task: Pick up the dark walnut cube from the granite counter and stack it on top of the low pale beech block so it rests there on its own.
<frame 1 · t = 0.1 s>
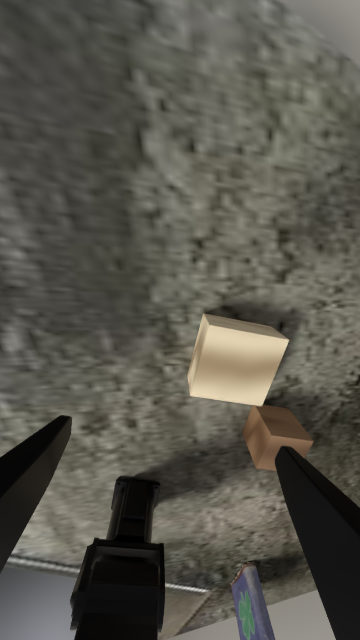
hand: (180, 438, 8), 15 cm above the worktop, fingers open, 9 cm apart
flask: (242, 572, 40), on the worktop
walnut cube: (264, 420, 27), on the worktop
beech block: (227, 350, 24), on the worktop
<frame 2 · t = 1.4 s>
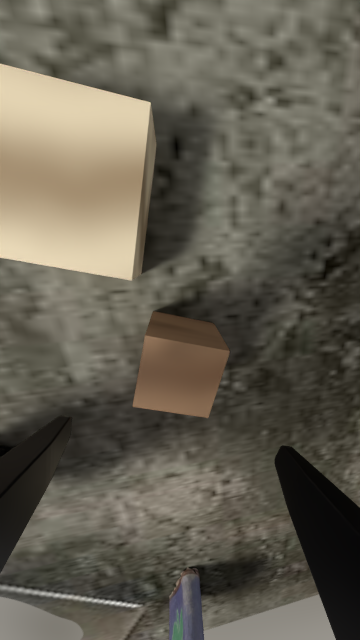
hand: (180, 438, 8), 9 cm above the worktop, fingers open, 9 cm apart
flask: (184, 582, 29), on the worktop
walnut cube: (177, 344, 17), on the worktop
beech block: (89, 203, 14), on the worktop
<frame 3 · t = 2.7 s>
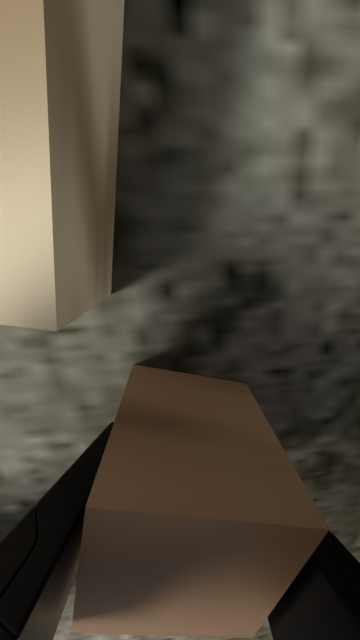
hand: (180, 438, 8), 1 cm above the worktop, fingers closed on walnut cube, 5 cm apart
walnut cube: (179, 419, 9), on the worktop, touching gripper
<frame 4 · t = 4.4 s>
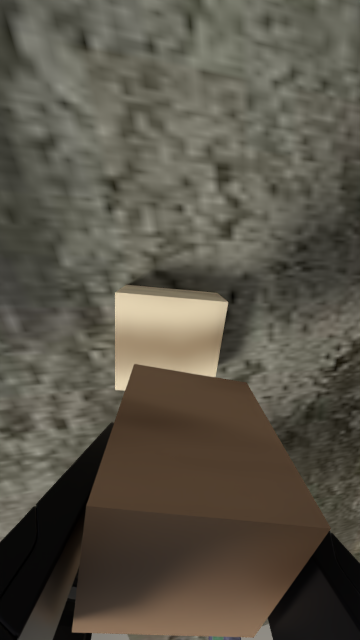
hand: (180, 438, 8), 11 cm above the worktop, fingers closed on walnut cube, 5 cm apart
walnut cube: (179, 418, 9), point 10 cm above the worktop, touching gripper
beech block: (168, 330, 19), on the worktop
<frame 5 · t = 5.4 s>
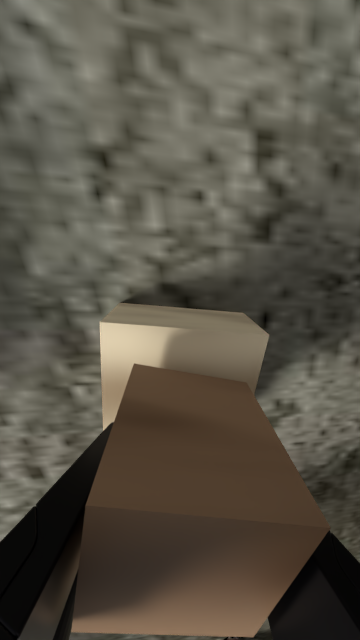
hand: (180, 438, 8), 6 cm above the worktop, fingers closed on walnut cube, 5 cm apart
walnut cube: (179, 418, 9), point 5 cm above the worktop, touching gripper
beech block: (177, 360, 14), on the worktop
when the fingers open (6 cm above the worktop, at t = 6.1 s): walnut cube drops 1 cm, point 4 cm above the worktop.
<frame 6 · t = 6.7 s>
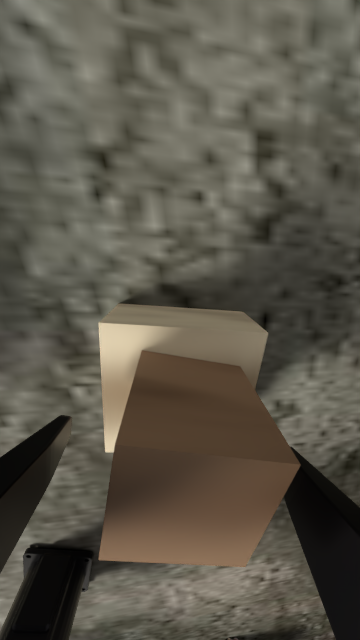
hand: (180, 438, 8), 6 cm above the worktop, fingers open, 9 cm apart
walnut cube: (181, 399, 11), point 4 cm above the worktop
beech block: (177, 360, 14), on the worktop
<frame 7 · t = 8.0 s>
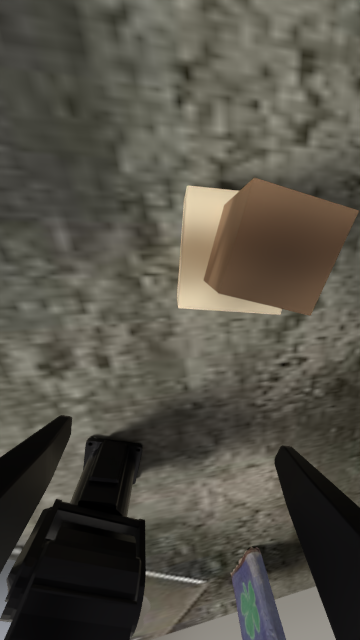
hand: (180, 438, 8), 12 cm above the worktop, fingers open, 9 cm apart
flask: (245, 560, 34), on the worktop
walnut cube: (247, 253, 14), point 4 cm above the worktop, touching beech block
beech block: (224, 255, 18), on the worktop, touching walnut cube
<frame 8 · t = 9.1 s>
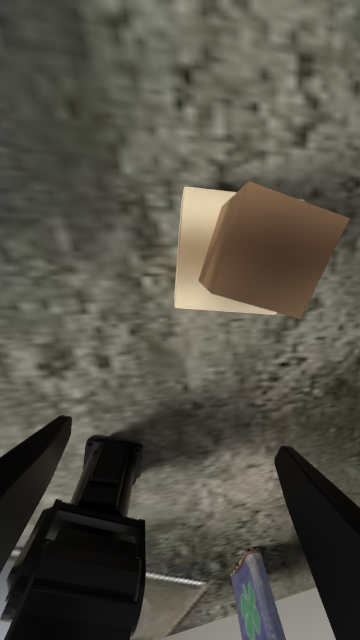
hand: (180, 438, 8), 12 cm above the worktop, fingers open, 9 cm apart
flask: (245, 561, 34), on the worktop
walnut cube: (242, 256, 14), point 4 cm above the worktop, touching beech block
beech block: (221, 256, 18), on the worktop, touching walnut cube
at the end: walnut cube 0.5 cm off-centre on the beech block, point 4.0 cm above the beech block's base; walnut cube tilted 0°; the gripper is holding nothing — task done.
